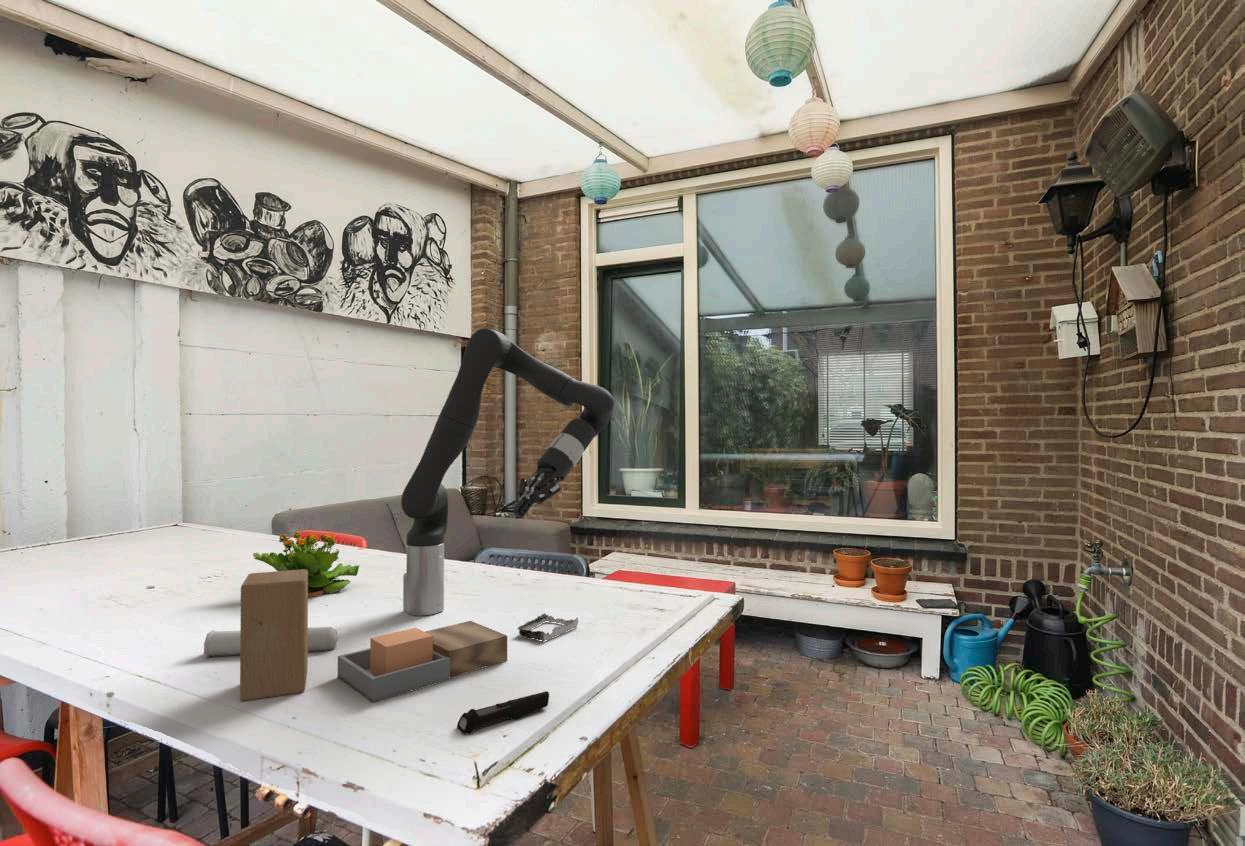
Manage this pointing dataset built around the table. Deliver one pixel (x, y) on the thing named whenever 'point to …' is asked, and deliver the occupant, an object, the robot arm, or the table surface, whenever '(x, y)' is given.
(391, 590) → the table surface
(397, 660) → the terracotta block
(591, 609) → the table surface
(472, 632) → the square wooden plinth
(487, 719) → the electric trimmer
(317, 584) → the potted flower
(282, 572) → the wooden block
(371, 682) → the box
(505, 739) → the table surface
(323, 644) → the tube
